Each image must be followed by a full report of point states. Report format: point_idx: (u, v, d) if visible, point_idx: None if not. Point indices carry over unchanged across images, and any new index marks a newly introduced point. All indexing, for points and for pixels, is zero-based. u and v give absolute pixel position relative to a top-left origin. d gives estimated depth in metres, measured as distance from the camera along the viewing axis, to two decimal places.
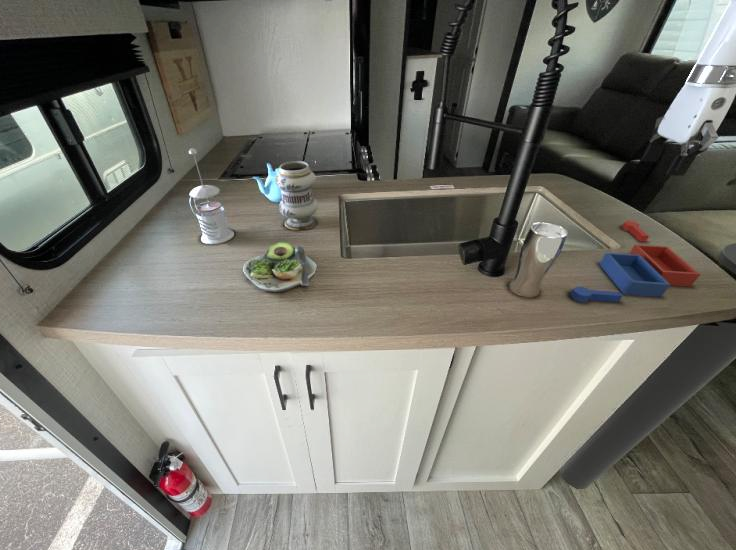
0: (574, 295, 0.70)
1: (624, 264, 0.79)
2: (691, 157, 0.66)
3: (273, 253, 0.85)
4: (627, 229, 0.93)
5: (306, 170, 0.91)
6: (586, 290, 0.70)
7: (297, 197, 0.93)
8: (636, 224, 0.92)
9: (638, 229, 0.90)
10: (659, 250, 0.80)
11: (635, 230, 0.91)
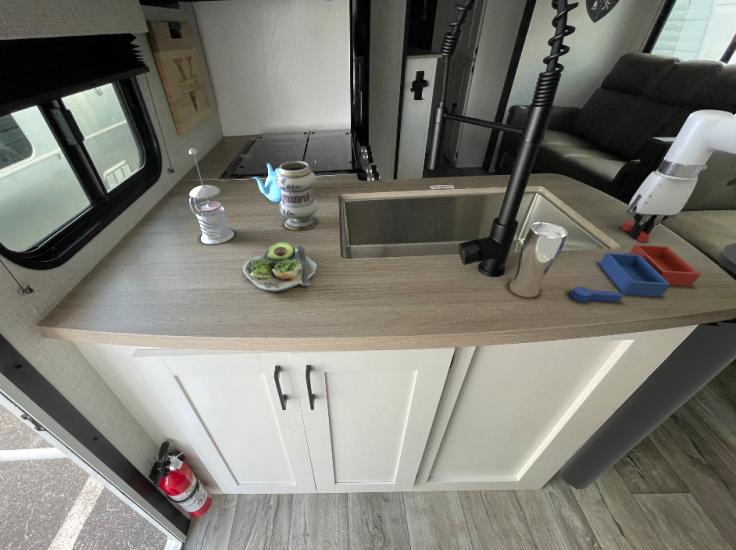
0: (574, 295, 0.70)
1: (624, 264, 0.79)
2: None
3: (273, 253, 0.85)
4: (627, 229, 0.93)
5: (306, 170, 0.91)
6: (586, 290, 0.70)
7: (297, 197, 0.93)
8: None
9: None
10: (659, 250, 0.80)
11: None
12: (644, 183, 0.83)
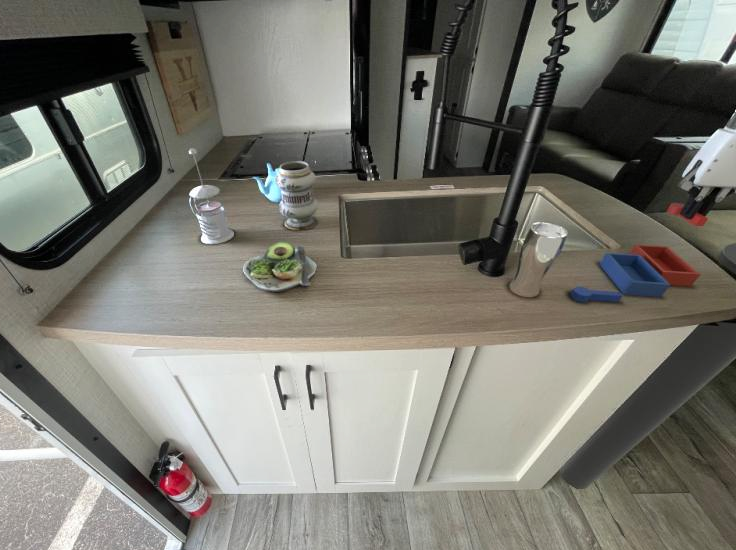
0: (574, 295, 0.70)
1: (624, 264, 0.79)
2: None
3: (273, 253, 0.85)
4: (675, 212, 0.74)
5: (306, 170, 0.91)
6: (586, 290, 0.70)
7: (297, 197, 0.93)
8: None
9: None
10: (659, 250, 0.80)
11: None
12: (706, 145, 0.64)
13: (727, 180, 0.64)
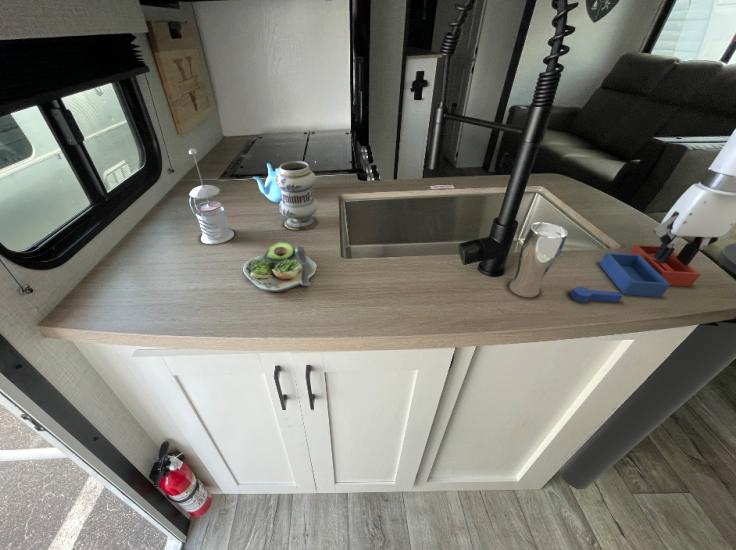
0: (574, 295, 0.70)
1: (624, 264, 0.79)
2: None
3: (273, 253, 0.85)
4: None
5: (306, 170, 0.91)
6: (586, 290, 0.70)
7: (297, 197, 0.93)
8: None
9: (664, 265, 0.76)
10: None
11: (661, 266, 0.76)
12: (682, 198, 0.67)
13: (702, 231, 0.68)
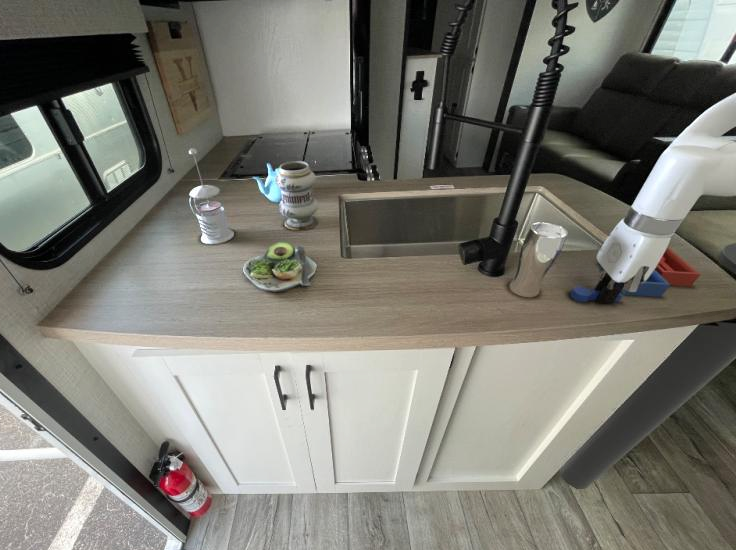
0: (574, 295, 0.70)
1: None
2: None
3: (273, 253, 0.85)
4: None
5: (306, 170, 0.91)
6: (586, 290, 0.70)
7: (297, 197, 0.93)
8: (661, 258, 0.78)
9: (664, 265, 0.76)
10: None
11: (661, 266, 0.76)
12: (646, 253, 0.58)
13: None
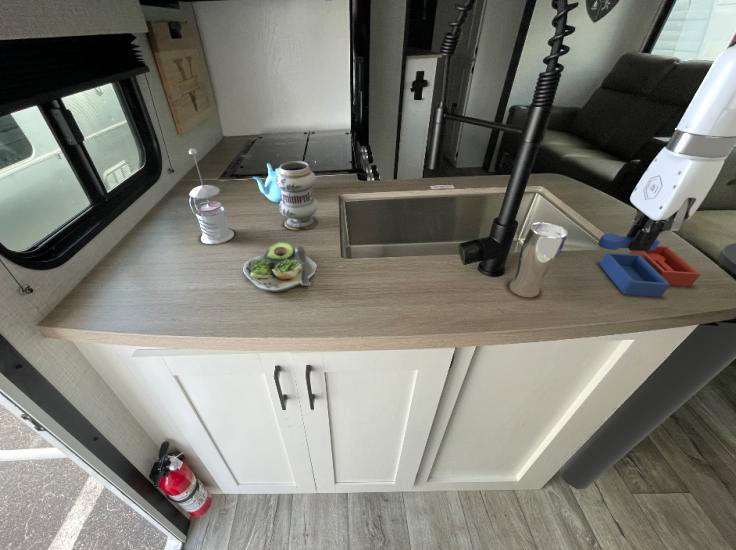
0: (603, 242, 0.62)
1: (624, 264, 0.79)
2: None
3: (273, 253, 0.85)
4: None
5: (306, 170, 0.91)
6: (617, 236, 0.62)
7: (297, 197, 0.93)
8: (661, 258, 0.78)
9: (664, 265, 0.76)
10: (659, 250, 0.80)
11: (661, 266, 0.76)
12: (693, 181, 0.50)
13: None
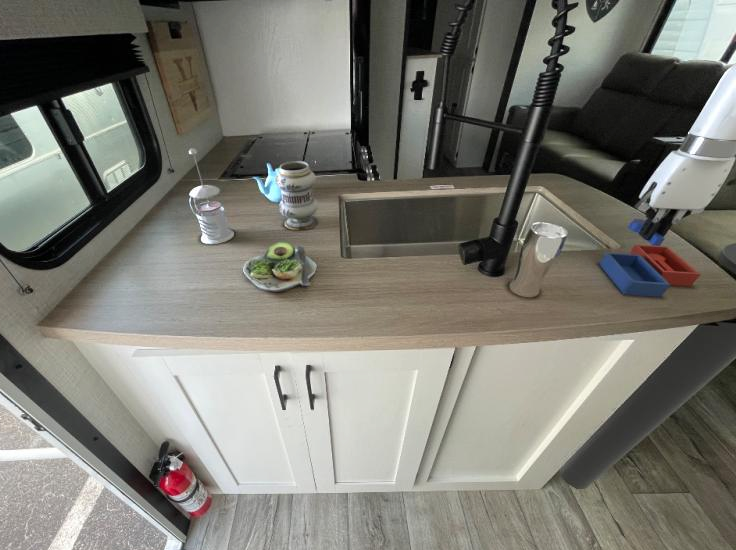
0: None
1: (624, 264, 0.79)
2: None
3: (273, 253, 0.85)
4: None
5: (306, 170, 0.91)
6: None
7: (297, 197, 0.93)
8: (661, 258, 0.78)
9: (664, 265, 0.76)
10: (659, 250, 0.80)
11: (661, 266, 0.76)
12: (661, 167, 0.63)
13: (682, 203, 0.63)
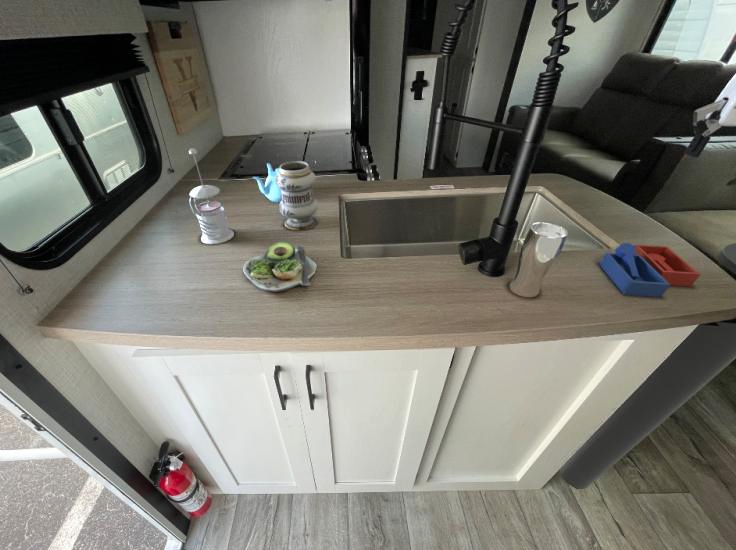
0: None
1: None
2: None
3: (273, 253, 0.85)
4: None
5: (306, 170, 0.91)
6: (631, 252, 0.76)
7: (297, 197, 0.93)
8: (661, 258, 0.78)
9: (664, 265, 0.76)
10: (659, 250, 0.80)
11: (661, 266, 0.76)
12: (733, 81, 0.61)
13: None
